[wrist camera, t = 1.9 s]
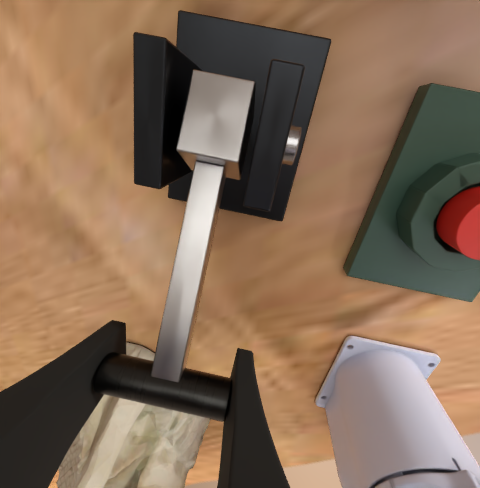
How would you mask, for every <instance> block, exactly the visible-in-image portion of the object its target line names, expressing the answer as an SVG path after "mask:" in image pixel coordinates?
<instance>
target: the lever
mask: <svg viewBox="0 0 480 488" xmlns="http://www.w3.org/2000/svg"><path fill="white" fill-rule="evenodd" d="M255 88H256V83H255V82H254V81H250V80H245V79H240V78H235V77H230V76H225V75H219V74H214V73H209V72H204V71H199V70H193V71H192V75H191V80H190V85H189V89H188V94H187V99H186V104H185V109H184V113H183V118H182V123H181V128H180V132H179V137H178V142H177V147H176V150H177V152H178V153H179V154H180V156H181V157H182V158H183V160H184V161H185V162H186V164H187V165H188V166H189V168H190V169H191V170H193V175H192V180H191V185H190V189H189V194H188V199H187V204H186V208H185V213H184V218H183V223H182V228H181V232H180V237H179V242H178V247H177V251H176V256H175V261H174V266H173V271H172V275H171V280H170V285H169V290H168V294H167V299H166V304H165V309H164V314H163V318H162V323H161V328H160V333H159V337H158V342H157V347H156V352H155V357H154V361H152V360H147V359H143V358H138V357H134V356H130V355H125V354H121V353H116V352H111V353H109V354H107V355H106V356H105V358H104V359H103V360H102V362H101V364H100V365H99V367H98V369H97V372H96V374H95V377H94V381H93V390H94V391H95V392H96V393H100V394H104V395H109V396H113V397H117V398H122V399H126V400H130V401H135V402H139V403H143V404H148V405H152V406H156V407H161V408H165V409H169V410H174V411H178V412H183V413H187V414H191V415H196V416H200V417H204V418H209V419H213V420H217V421H222V422H223V421H225V420H226V417H227V413H228V408H229V403H230V397H231V391H232V379H231V378H227V377H223V376H218V375H214V374H209V373H205V372H201V371H196V370H192V369H187V368H186V364H187V360H188V355H189V350H190V345H191V341H192V336H193V331H194V326H195V322H196V317H197V312H198V307H199V303H200V298H201V293H202V288H203V284H204V279H205V274H206V269H207V265H208V260H209V255H210V250H211V246H212V241H213V236H214V231H215V227H216V222H217V217H218V212H219V208H220V203H221V198H222V193H223V189H224V184H225V179H226V177H227V178H232V179H237V180H240V179H241V176H242V171H243V166H244V162H245V157H246V152H247V147H248V143H249V138H250V133H251V128H252V124H253V119H254V105H255Z"/></svg>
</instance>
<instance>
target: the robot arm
mask: <svg viewBox="0 0 480 488" xmlns="http://www.w3.org/2000/svg"><path fill="white" fill-rule="evenodd" d="M348 345H350V346H348ZM111 352H116V353H121V354H125V355H126V323H123V322H119V321H114V320H112V321H110V322H109V323H107V324H106V325H104V326H103V327H101V328H100V329H99V330H97V331H96V332H94V333H93V334H92V335H90V336H89V337H87V338H86V339H85V340H83V341H82V342H80V343H79V344H77V345H76V346H74V347H73V348H71V349H70V350H69V351H67V352H66V353H64V354H63V355H61V356H60V357H58V358H57V359H55V360H53V361H52V362H50V363H49V364H47V365H45V366H44V367H42V368H41V369H39V370H38V371H36V372H34V373H33V374H31V375H29V376H28V377H26V378H24V379H23V380H21V381H19V382H17V383H16V384H14V385H12V386H10V387H9V388H7V389H5V390H3V391H1V392H0V488H48V487H49V485H50V483H51V481H52V479H53V477H54V475H55V474H56V472H57V470H58V468H59V466H60V465H61V463H62V461H63V459H64V457H65V455H66V454H67V452H68V450H69V448H70V447H71V445H72V443H73V442H74V440H75V438H76V437H77V435H78V433H79V432H80V430H81V429H82V427H83V426H84V424H85V423H86V421H87V420H88V418H89V417H90V415H91V414H92V412H93V411H94V409H95V408H96V406H97V405H98V403H99V402H100V400H101V399H102V397H103V396H104V394H100V393H96V392H95V391H94V390H93V381H94V377H95V374H96V372H97V369H98V367H99V365H100V364H101V362H102V360H103V359H104V358H105V356H106V355H107V354H109V353H111ZM439 362H440V358H439V356H438V355H437V354H435V353H430V352H425V351H421V350H416V349H412V348H407V347H402V346H398V345H393V344H389V343H384V342H380V341H375V340H370V339H366V338H361V337H357V336H348V337H346V339H345V341H344V343H343V345H342V347H341V349H340V351H339V353H338V355H337V357H336V359H335V361H334V363H333V365H332V367H331V369H330V371H329V373H328V375H327V377H326V379H325V381H324V383H323V385H322V387H321V389H320V391H319V393H318V395H317V397H316V399H315V403H316V405H317V406H319V407H323V408H325V410H326V415H327V420H328V425H329V430H330V435H331V440H332V446H333V451H334V456H335V461H336V466H337V471H338V476H339V479H340V482H341V485H342V487H343V488H480V466H479V465H478V463H477V461H476V460H475V458H474V457H473V455H472V454H471V452H470V450H469V449H468V447H467V445H466V444H465V442H464V440H463V439H462V437H461V436H460V434H459V432H458V431H457V429H456V427H455V426H454V424H453V423H452V421H451V419H450V418H449V416H448V415H447V413H446V411H445V410H444V408H443V406H442V405H441V403H440V402H439V400H438V398H437V397H436V395H435V394H434V392H433V390H432V389H431V387H430V385H429V384H428V382H427V381H426V379H427V378H428V377H429V375H430V374H431V373H432V371H433V370H434V369H435V368H436V366H437V365H438V364H439ZM230 378H231V379H232V391H231V397H230V403H229V408H228V413H227V417H226V420H225V421H224V427H223V439H222V450H221V461H220V471H219V479H218V486H217V488H290V486H289V484H288V481H287V479H286V476H285V474H284V471H283V468H282V466H281V463H280V460H279V457H278V455H277V452H276V449H275V446H274V443H273V440H272V437H271V434H270V431H269V427H268V424H267V421H266V417H265V414H264V410H263V406H262V402H261V398H260V394H259V389H258V385H257V379H256V374H255V368H254V359H253V353H252V351H249V350H244V349H240V348H238V349H237V353H236V357H235V361H234V365H233V369H232V373H231V377H230Z"/></svg>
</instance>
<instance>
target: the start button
mask: <svg viewBox="0 0 480 488" xmlns="http://www.w3.org/2000/svg"><path fill="white" fill-rule="evenodd" d="M436 228H437V232H438V235H439V237H440V238H441V239H442V240H443V241H444V242H445V243H447V244H448V245H450V246H451V247H453V248H454V249H456V250H457V251H459V252H461V253H462V254H464V255H465V256H467V257H469V258H471V259H475V260H480V186H478V187H473V188H470V189H467V190H465V191H462V192H460V193H459V194H457V195H455V196H454V197H453V198H451V199H450V200H449V201H448V202H447V203H446V204H445V205H444V207H443V208H442V210H441V211H440V213H439V215H438V218H437V223H436Z"/></svg>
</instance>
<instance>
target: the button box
mask: <svg viewBox="0 0 480 488" xmlns="http://www.w3.org/2000/svg"><path fill="white" fill-rule="evenodd" d="M478 186H480V92H475V91H470V90H465V89H460V88H455V87H449V86H444V85H439V84H434V83H430V84H427V85H423V86H420V87H419V88H418V91H417V93H416V96H415V98H414V100H413V103H412V105H411V107H410V110H409V112H408V115H407V117H406V119H405V122H404V124H403V126H402V129H401V131H400V134H399V136H398V138H397V141H396V143H395V146H394V148H393V150H392V153H391V155H390V157H389V160H388V162H387V165H386V167H385V169H384V172H383V174H382V176H381V179H380V181H379V184H378V186H377V188H376V191H375V193H374V196H373V198H372V200H371V203H370V205H369V207H368V210H367V212H366V215H365V217H364V219H363V222H362V224H361V226H360V229H359V231H358V234H357V236H356V238H355V241H354V243H353V246H352V248H351V250H350V253H349V255H348V257H347V260H346V262H345V265H344V267H343V268H344V270H345V272H346V274H347V276H351V277H355V278H360V279H365V280H369V281H374V282H379V283H383V284H388V285H393V286H398V287H402V288H407V289H412V290H416V291H421V292H426V293H430V294H435V295H440V296H445V297H449V298H454V299H459V300H463V301H468V302H472V301H473V300H474V298H475V297H476V296H477V294H478V293H479V291H480V260H475V259H471V258H469V257H467V256H465V255H464V254H462V253H461V252H459V251H457V250H456V249H454V248H453V247H451V246H450V245H448V244H447V243H445V242H444V241H443V240H442V239H441V238H440V237H439V235H438V232H437V228H436V223H437V218H438V215H439V213H440V211H441V210H442V208H443V207H444V205H445V204H446V203H447V202H448V201H449V200H450V199H451V198H453V197H454V196H455V195H457V194H459V193H460V192H462V191H465V190H467V189H470V188H473V187H478Z"/></svg>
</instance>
